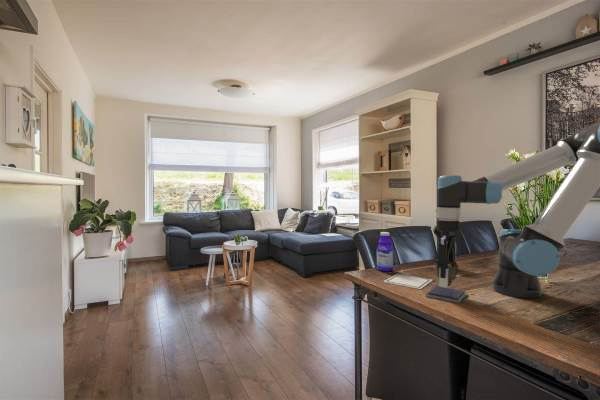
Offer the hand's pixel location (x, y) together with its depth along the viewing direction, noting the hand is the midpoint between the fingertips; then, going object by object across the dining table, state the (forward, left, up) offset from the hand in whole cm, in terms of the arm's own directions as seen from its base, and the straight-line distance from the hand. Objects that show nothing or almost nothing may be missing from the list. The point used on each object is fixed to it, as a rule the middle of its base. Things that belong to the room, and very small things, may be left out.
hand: (446, 284), depth 118 cm
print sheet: (+17, -9, -4) cm, 20 cm away
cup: (0, 0, 0) cm, 1 cm away
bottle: (+32, -20, -4) cm, 38 cm away
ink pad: (0, 0, -4) cm, 4 cm away
